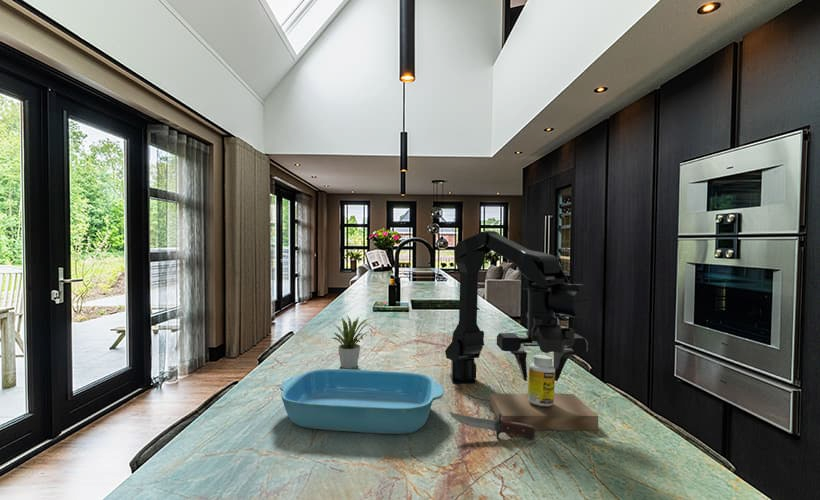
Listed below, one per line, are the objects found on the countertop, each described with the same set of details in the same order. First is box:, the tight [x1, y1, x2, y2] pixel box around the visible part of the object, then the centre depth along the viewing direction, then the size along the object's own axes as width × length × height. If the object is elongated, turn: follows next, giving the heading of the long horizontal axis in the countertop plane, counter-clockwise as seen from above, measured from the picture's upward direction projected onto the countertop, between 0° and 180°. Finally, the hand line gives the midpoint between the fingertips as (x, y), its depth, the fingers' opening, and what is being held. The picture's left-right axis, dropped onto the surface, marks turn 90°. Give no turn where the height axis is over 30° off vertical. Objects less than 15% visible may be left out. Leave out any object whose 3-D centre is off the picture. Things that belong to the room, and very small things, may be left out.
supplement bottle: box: [527, 354, 556, 406], centre depth 85 cm, size 6×6×10 cm
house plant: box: [328, 314, 373, 369], centre depth 121 cm, size 14×14×16 cm
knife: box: [448, 411, 536, 440], centre depth 76 cm, size 17×1×5 cm, turn 87°
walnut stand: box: [489, 392, 599, 431], centre depth 85 cm, size 20×12×3 cm, turn 90°
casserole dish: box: [279, 368, 444, 435], centre depth 86 cm, size 37×22×7 cm, turn 85°
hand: (540, 380), depth 85 cm, fingers open, 7 cm apart
